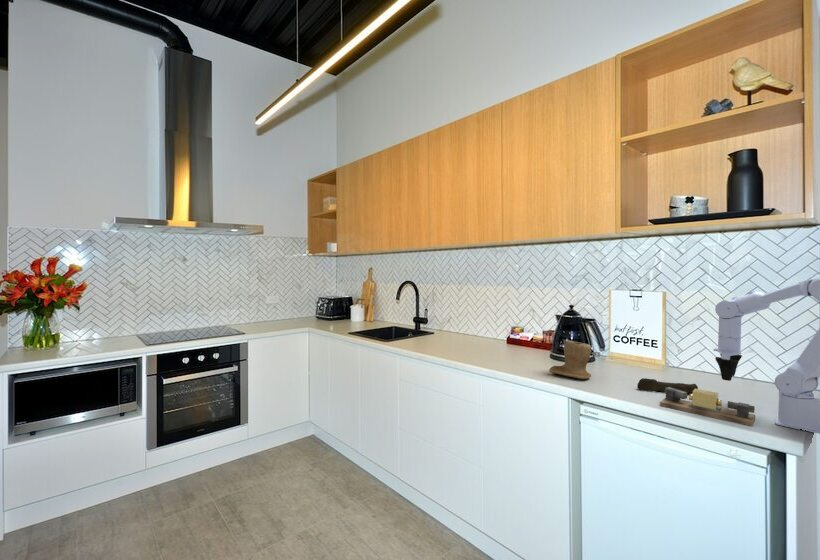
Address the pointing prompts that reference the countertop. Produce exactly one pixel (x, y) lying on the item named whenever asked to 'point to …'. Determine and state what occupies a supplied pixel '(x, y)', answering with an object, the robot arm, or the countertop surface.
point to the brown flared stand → (574, 360)
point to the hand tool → (664, 385)
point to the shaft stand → (737, 416)
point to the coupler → (705, 399)
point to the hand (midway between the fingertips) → (728, 377)
